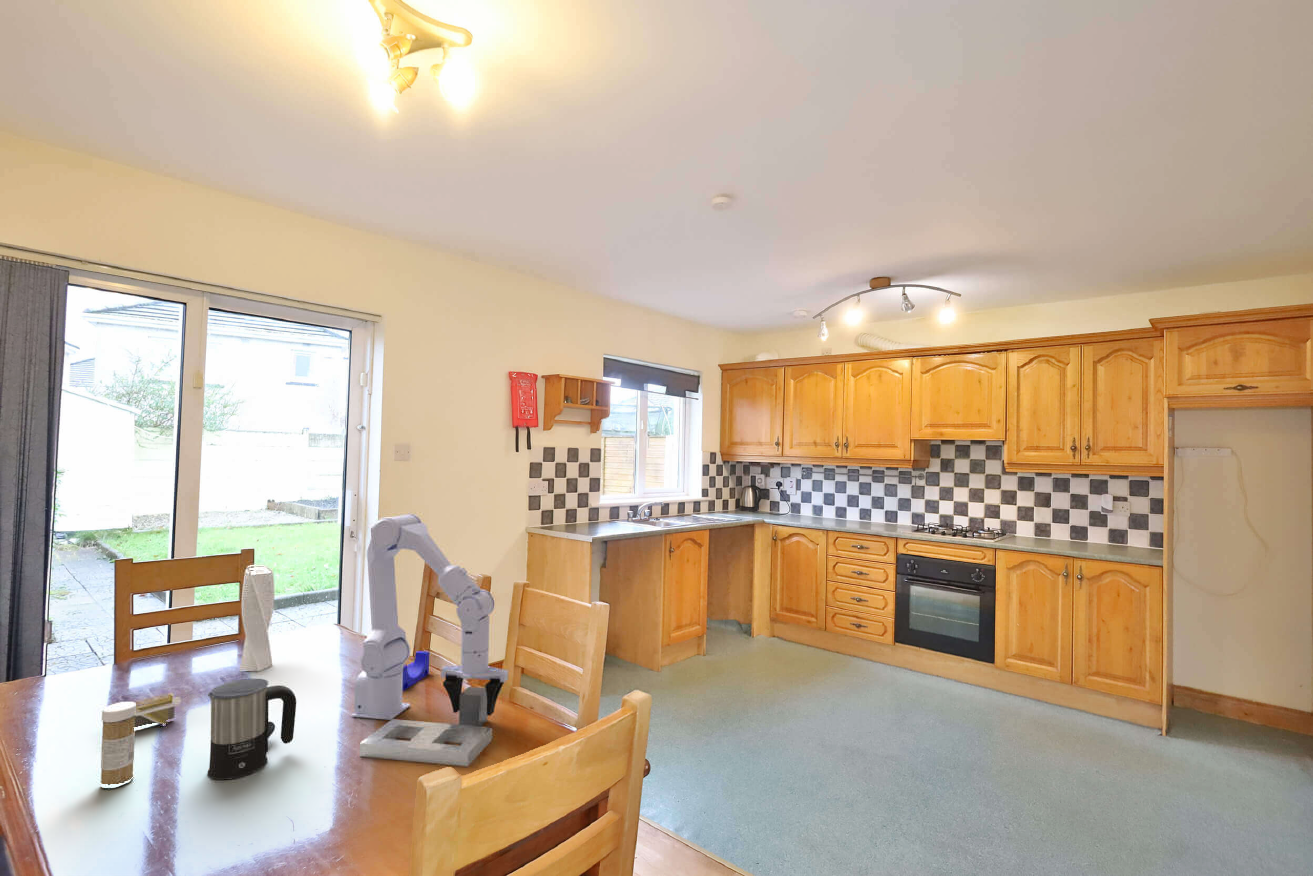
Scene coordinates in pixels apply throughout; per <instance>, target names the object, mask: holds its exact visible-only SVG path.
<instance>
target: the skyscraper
mask: <svg viewBox="0 0 1313 876" xmlns="http://www.w3.org/2000/svg"><path fill="white" fill-rule="evenodd" d="M240 605H241V619H242V625H243V631H244V636H245V637H244V643H243V649H242V655H241V661H240V666H239V671H240V670H247V671H260V670H261V671H263V670H265V669H267V668H268V667H267V666H269V665H271V666H273V659H272V653H271V652H272V650H271V645H270V637H269V632H268V630H269V628H270V625H271V620H272V617H273V612H274V605H275V580H274V571H273V570H272V568H270V567H269V566H267V565H265V564H250V565H248V566H246V569H245V571H244V577H243V583H242V592H241V604H240ZM266 667H267V668H266ZM269 667H270V666H269ZM264 668H265V669H264ZM262 669H263V670H262ZM261 671H260V672H261Z"/></svg>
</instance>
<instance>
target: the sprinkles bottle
mask: <svg viewBox="0 0 1313 876" xmlns="http://www.w3.org/2000/svg"><path fill="white" fill-rule="evenodd" d="M135 714H136V702H134V701H122V702H121V701H120V702H117V703H113V704H110V705H108V706H105V707H104V708H103V709H102V711H101V721H102V736H101V738H102V741H101V751H100V752H101V753H100V769H101V772H100V773H101V774H100V783H102V784H108V785H110V784H119V783H124V782H125V781H128V780H130V779H131V778H132V777H133V776H134V761H135V741H136V740H135V736H136V735H135V734H136V732H135V731H134V727H135V724H134V722H135V716H136V715H135ZM133 778H134V777H133Z"/></svg>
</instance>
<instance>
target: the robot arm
mask: <svg viewBox="0 0 1313 876" xmlns="http://www.w3.org/2000/svg"><path fill="white" fill-rule="evenodd" d="M428 531H429V530H428V527H427V524H425V523H424V522H423V521H422V520H421V518H420V517H419V516H418V515H416V514H414V513H407V514H403V515H397V516H391V517H390V516H389V517H388V516H385V517H382V518H380V519H378V520H377V521H376V523H374V524H373V525H372V526H371V527H370V541H369V543H368V547H367V551H366V556H367V558H366V559H367V572H368V573H367V574H368V587H369V588H368V589H369V590H368V592H369V604H370V605H369V606H370V608H369V609H370V621H371V631H370V632H369V634H368V635H367V636H366V638H365V640H364V641H363V642H362V643H363V651H362V653H361V655H360V666H361V669H362V672H360V674H359V675H358V676H357V677H356V681H355V685H354V698H353V699H354V701H353V702H354V704H353V705H354V708H353V713H352V714H351V717H353V718H367V719H376V720H377V719H378V720H389V721H390V720H392V719H395V717H397V716H398V715H400V714H401V713H402V712H403V711H405V710H407V708H409V707H411V703H407V702H406V703H405V702H403V691H402V685H403V668H404V665H405V663H406V661H408V659H409V657H410V656H411V647H410V644H409V641H408V639H407V636H406V631H405V630H404V628H403V629H402V628H401V626H399V619H398V617H399V616H398V604H397V603H398V601H397V585H396V573H395V572H396V571H395V569H396V567H395V556H396V555H397V554H398V553H399V552H400V551H401V550H411V551H414V552H415V553H416V554H417V555H418V556H419V557H420V558H421V559H422V560H423V561H424V562H425V563H426V564H427V565H428V566H429V567H430V568H431V570H433V571H434V572H435V573H436V575H438V578H437V584H438V586H439V587H440V588H441V589H442V590H443V591H444V593H445V594H446V596H448V597H449V598H450V600H451V601H452V603H454V605H455V606H456V615H457V617H458V618H459V620H460V628H461V643H460V644H461V645H460V647H461V648H460V649H461V650H460V665H444V666H442V667H441V669H440V678H442V679H443V678H444V679H445V680H444V681H443V682H442V685H443V687H444V689H445V691H446V693H447V694H448V698H449V700H450V704H451V708H452V711H453V712H452V713H453V714H457V713H458V712H459V708H460V694H461V693H462V692H463V681H464V679H465V680H485V681H488V682H487V683H486V684H485V685H484V688H486V694H487V717H488V716H491V715H492V714H493V713H494V712H495V708H496V704H497V699H498V697H499V694H500V692H501V689H502V687H503V686H504V684H505V682H507V681H508V680H509V669H501V668H498V667H493V666H489V654H490V653H489V647H490V614H492V612H493V611H494V608H495V599H494V597H493V596H492V593H491V592H490V591H488V590H486V589H481V588H480V586H479V585H477V584H476V583H475V582H474V581H473V580H472V579H471V578H470V576H469V575H468V574H467V573H468V570H466V569H465V567H461V566H460V565H455V564H451V562H450V561H449V560H448V558H447V557H446V556H445V554H444V553H443V552H442V550H441V548H439V546H438V544H437V543H436V541H434V539H433V538H432V536H431V535H430V534H429V532H428Z"/></svg>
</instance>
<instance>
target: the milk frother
mask: <svg viewBox="0 0 1313 876" xmlns="http://www.w3.org/2000/svg"><path fill="white" fill-rule="evenodd" d="M207 696H208V697H209V699H210V751H209V752H210V753H209V765H208V766H209V767H208V770H207V776H208V778H210V777H211V778H210V779H213V780H217V779H220V781H221V780H222V781H223V780H225V779H227V780H233V778H234V779H238V778H242V777H246V776H248V775H251V774H253V773H256V772H257V771H258V770H260V769H262V768H263V767H264V766H265V765H266V764H267V762H268V756H267V754H268V753H269V738H270V737H271V735H272V734H274V731H275V729H276V724H274V722H272V721H269V701H272V700H276V699H280V700H281V701H282V710H281V711H282V714H281V725H280V726H281V727H280V740H281V742H282V743H283V744H285V745H286V744H289V743H291V742H292V741H293V738H294V733H295V732H294V731H295V723H296V722H295V721H296V711H297V698H296V694H295V693H294V692H293V691H292V689H290V687H288V686H285V685H280V684H279V685H272V686H269V681H268V680H267V679H264V678H246V679H245V678H244V679H238V680H232V681H230V682H225V683H222V684H220V685H218V686H215V687H214V688H212V689H211V690H210V691H209V692H208V694H207ZM225 781H226V780H225Z"/></svg>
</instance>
